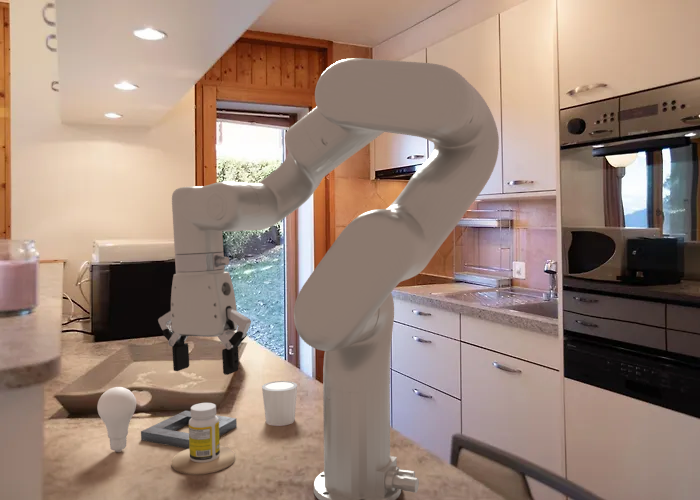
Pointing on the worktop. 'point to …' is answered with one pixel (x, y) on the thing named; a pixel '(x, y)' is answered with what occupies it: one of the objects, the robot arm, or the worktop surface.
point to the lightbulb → (117, 414)
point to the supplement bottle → (204, 433)
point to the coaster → (187, 466)
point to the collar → (169, 436)
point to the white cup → (279, 402)
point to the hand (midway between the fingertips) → (205, 370)
